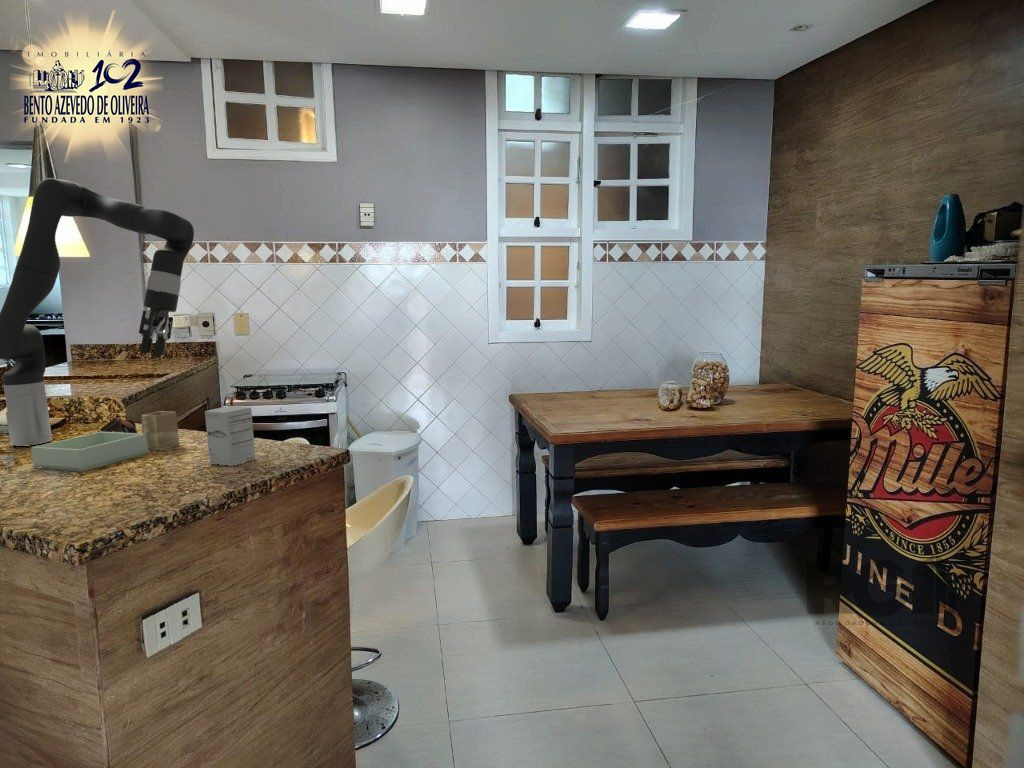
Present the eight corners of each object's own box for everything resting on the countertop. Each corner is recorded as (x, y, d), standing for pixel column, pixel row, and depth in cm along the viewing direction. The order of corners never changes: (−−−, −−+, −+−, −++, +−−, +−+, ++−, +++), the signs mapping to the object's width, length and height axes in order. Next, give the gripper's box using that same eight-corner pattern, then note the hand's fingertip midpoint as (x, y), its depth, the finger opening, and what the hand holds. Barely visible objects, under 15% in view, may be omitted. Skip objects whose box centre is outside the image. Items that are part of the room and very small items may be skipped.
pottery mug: (136, 448, 182) (115, 424, 179) (107, 464, 183) (85, 441, 180) (152, 428, 193) (133, 405, 190) (125, 443, 194) (104, 421, 191)
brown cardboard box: (144, 449, 177) (140, 415, 176) (163, 444, 183) (160, 411, 181) (160, 450, 175) (156, 416, 174) (179, 445, 181) (175, 411, 179)
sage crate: (33, 468, 162) (30, 447, 161) (103, 450, 178) (100, 431, 178) (81, 471, 156) (78, 450, 155) (148, 453, 173) (146, 433, 172)
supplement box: (208, 464, 157) (203, 410, 156) (235, 457, 164) (229, 405, 162) (231, 467, 154) (225, 412, 152) (257, 459, 160) (251, 406, 159)
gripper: (158, 292, 182) (147, 353, 181) (136, 284, 168) (124, 349, 167) (187, 297, 183) (177, 357, 182) (167, 289, 169) (156, 354, 168)
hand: (151, 353), depth 175 cm, fingers open, 8 cm apart
